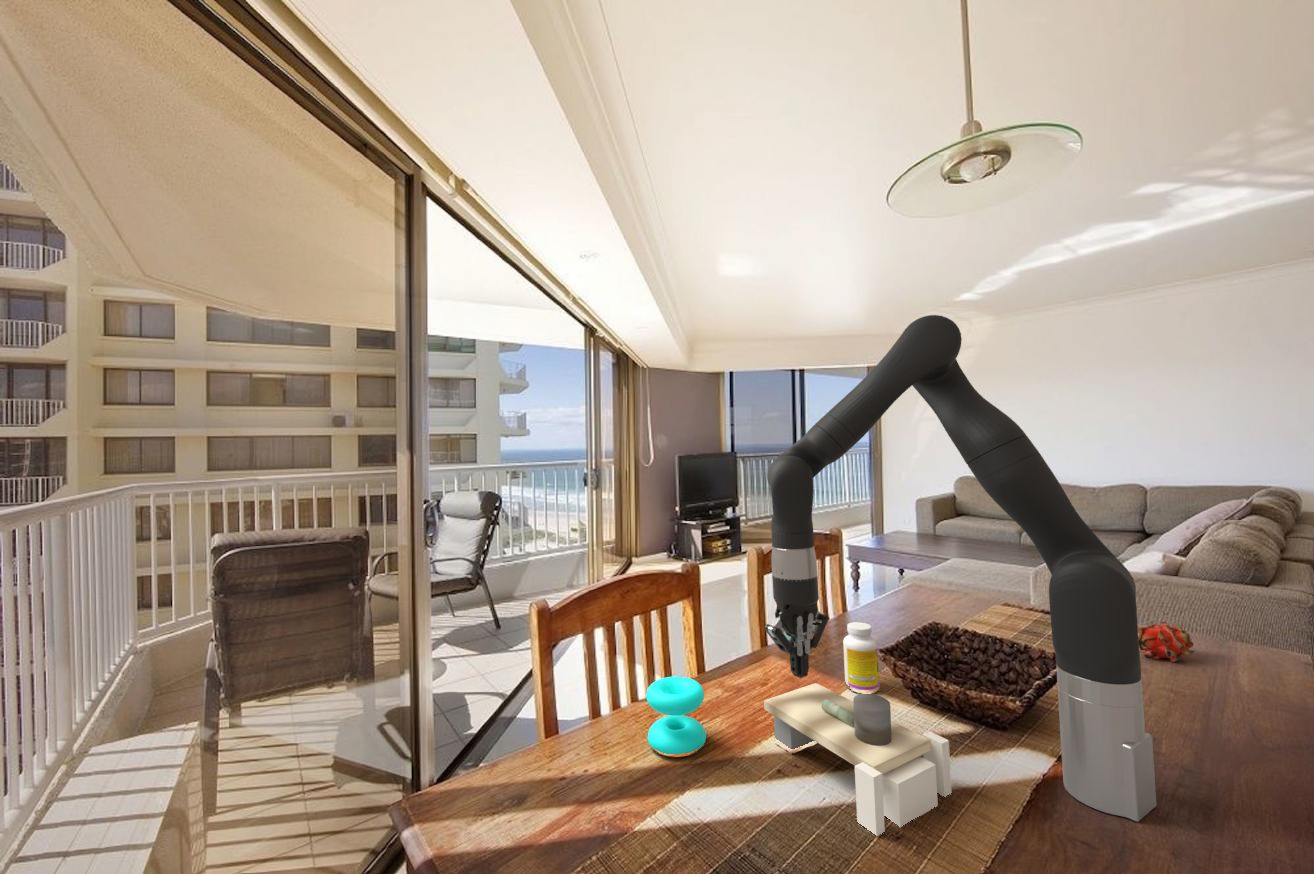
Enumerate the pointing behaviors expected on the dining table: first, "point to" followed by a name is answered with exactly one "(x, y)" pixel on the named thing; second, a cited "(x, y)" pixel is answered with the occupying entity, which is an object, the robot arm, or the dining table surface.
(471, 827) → the dining table surface
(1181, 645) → the dragon fruit
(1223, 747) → the dining table surface
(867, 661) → the supplement bottle
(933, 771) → the level stand
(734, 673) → the dining table surface
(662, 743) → the donuts
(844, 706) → the board
